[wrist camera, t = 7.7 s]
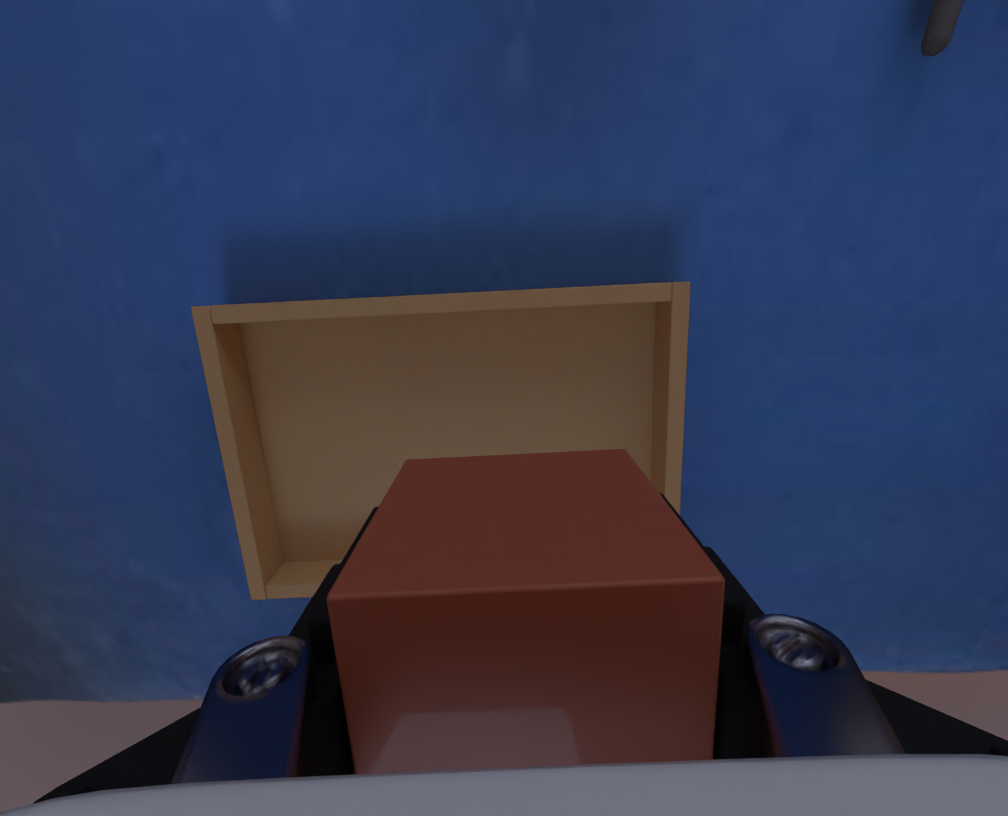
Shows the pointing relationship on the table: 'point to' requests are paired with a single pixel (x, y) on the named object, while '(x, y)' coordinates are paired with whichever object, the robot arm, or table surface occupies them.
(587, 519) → the block
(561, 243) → the table surface
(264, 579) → the tray
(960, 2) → the walkie-talkie
